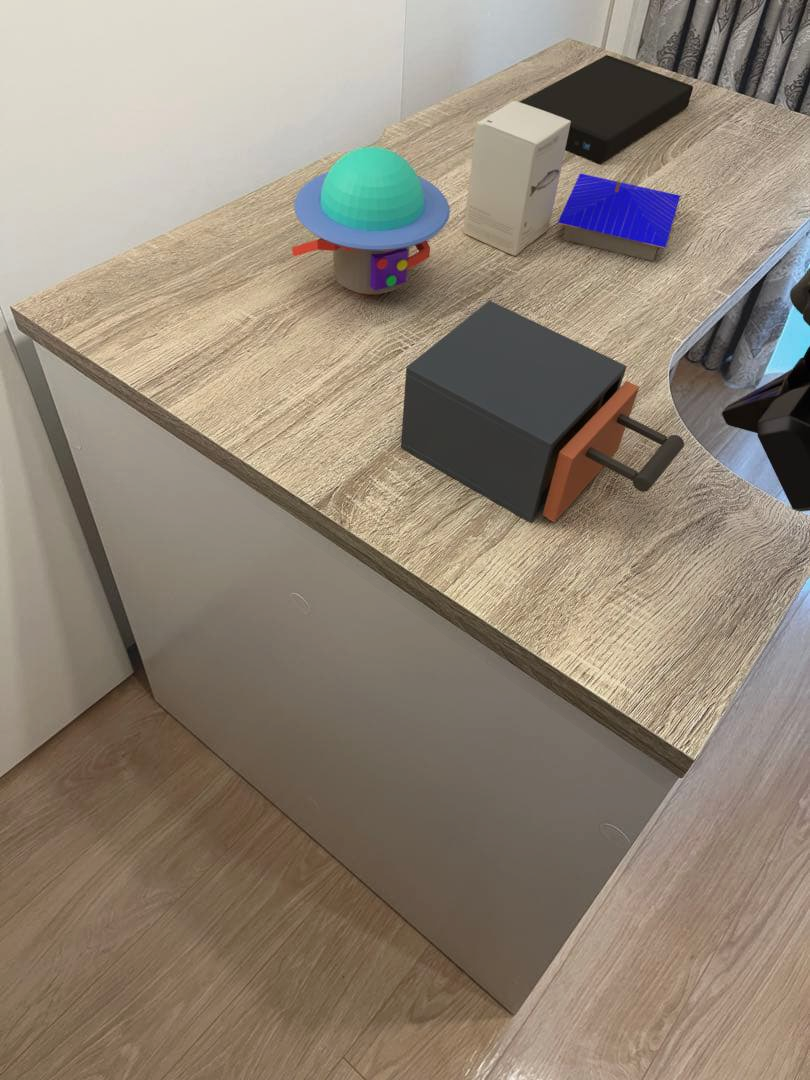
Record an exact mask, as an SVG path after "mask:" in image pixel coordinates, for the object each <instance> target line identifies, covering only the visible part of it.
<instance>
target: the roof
mask: <svg viewBox="0 0 810 1080" xmlns="http://www.w3.org/2000/svg"><path fill="white" fill-rule="evenodd" d="M680 198H681V195H680V194H675V193H671V192H665V191H661V190H656V189H652V188H649V187H644V186H639V185H635V184H630V183H626V182H621V181H616V180H612V179H608V178H604V177H598V176H594V175H590V174H585V173H579V175H578V177H577V179H576V182H575V183H574V185H573V188H572V190H571V192H570V194H569V196H568V198H567V201H566V203H565V205H564V208H563V210H562V212H561V214H560V217H559V219H558V220H557V224H558V225H563V226H564V231H563V236H562V240H563V241H567V242H571V243H575V244H580V245H584V246H588V247H592V248H596V249H601V250H604V251H608V252H609V251H610V252H613V253H618V254H622V255H626V256H631V257H633V258H634V257H635V258H639V259H643V260H646V261H647V260H648V261H652V262H653V261H654V259H655V256H656V253H657V250H658V248H662V249H666V247H667V243H668V240H669V236H670V233H671V230H672V226H673V223H674V220H675V216H676V213H677V209H678V205H679V202H680Z"/></svg>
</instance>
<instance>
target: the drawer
mask: <svg viewBox="0 0 810 1080" xmlns="http://www.w3.org/2000/svg"><path fill="white" fill-rule="evenodd" d="M639 390H640V386H639V385H636V384H634V383H632V382H630V381H627V380H626V381H625V382H623V384H621V386H620V388H619V389H618V390H617V392H616V393H615V394H614V395H613V396H612V397H611V398H610V399H609V400H608V401H607V402H606V403H605V404H604V405H603V406H602V407H601V405H602V401H603V398H604V395H605V394H604V395H603V396H602V397H601V398H600V399H599V400H598V401H597V402H596V403H595V404H594V405H593V406H592V407H591V408H590V409H589V410H588V411H587V412H586V413H585V415H584V416H583V417H582V418H581V419H580V420H579V421H578V422H577V423H576V424H575V425H574V426H573V427H572V428H571V429H570V430H569V431H568V432H567V433H566V434H565V435H564V436H563V437H562V438H561V440H560V441H559V442H558V443H557V444H556V445H555V446H554V448H553V452H552V456H551V460H550V464H549V468H548V471H547V475H546V479H545V483H544V487H543V491H544V490H545V489H546V488H547V487H548V486H549V485H550V484H551V485H550V489H549V493H548V496H547V500H546V504H545V507H544V509H543V510H542V516H543V517H544V518H547V519H548V520H550V521H551V522H553V523H555V522H556V521H557V520H558V519H559V518H560V517H561V516H562V515H563V514H564V513H565V511H566V510H567V509H569V507H570V506H571V505H572V504H573V502H575V500H576V499H577V498H578V497H579V495H580V494H581V493H582V492H583V491H584V490H585V489H586V487H587V486H588V485H589V484H590V483H591V482H592V481H593V480H594V478H595V477H597V475H598V474H599V473H600V472H601V470H602V469H603V468H604V467H605V468H607V469H609V470H611V471H612V472H614V473H616V474H618V475H619V476H622V477H623V478H626V479H627V480H630V481H631V482H632V486H633V487H634V488H635V490H637V491H638V492H641V493H646V492H649V490H650V489H651V488H653V486H654V485H655V483H656V482H657V481H658V480H659V478H660V477H661V476H662V475H663V474H664V472H665V471H666V470H667V468H668V467H669V466H670V464H672V462H673V461H674V460H675V459H676V457H677V456H678V455H679V454H680V452H681V451H682V450H683V449H684V447H685V441H684V438H682V437H681V436H680V435H678V434H670V435H669V436H667V435H665V434H663V433H661V432H659V431H657V430H656V429H653V428H651V427H649V426H647V425H645V424H643V423H641V422H639V421H637V420H635V419H633V418H632V417H630V416H631V414H632V413H631V412H632V410H633V407H634V404H635V401H636V398H637V396H638V393H639ZM626 429H629V430H631V431H633V432H635V433H637V434H639V435H640V436H643V437H644V438H647V439H649V440H651V441H652V442H654V443H656V444H658V445H660V446H659V447H658V449H657V450H656V451H655V452H654V454H652V456H651V457H650V458H649V459H648V460H647V462H646V463H645V464H644V465H643V467H641V469H640V470H639V471H637V470H636V469H635V468H632V467H630V466H628V465H626V464H624V463H623V462H620V461H619V460H617V459H615V458H613V457H614V456H615V455H616V453H617V452H618V451H619V448H620V446H621V442H622V439H623V437H624V433H625V431H626ZM543 491H542V492H543Z"/></svg>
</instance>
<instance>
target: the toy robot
mask: <svg viewBox="0 0 810 1080" xmlns="http://www.w3.org/2000/svg"><path fill="white" fill-rule="evenodd" d="M293 203H294V204H293V208H294V213H295V216H296V218H297V219H298V221H299V222H300V224H302V226H304V227H305V228H306V230H307V231H309V232H310V233H312V235H314V236H316V237H318V238H317V239H315V240H311V241H308V242H304V243H301V244H299V245H295V246H293V247H292V257H298V256H301V255H305V254H308V253H312V252H314V251H328V252H329V251H331V252H332V254H333V255H332V257H333V258H332V259H333V261H332V262H333V276H334V279H335V280H336V281H337V283H339V284H340V285H341V286H342V287H344V288H346V289H348V290H350V291H352V292H356V293H358V294H359V293H360V294H362V295H367V296H375V295H381V294H385V293H389V292H392V291H395V290H397V289H399V288H400V287H402V286H403V285H404V284H405V283H407V279H408V272H409V271H408V270H410V269H412V268H414V267H415V266H417V265H418V264H420V263H422V262H424V261H425V260H428V259H429V258H430V257H431V256H430V255H431V246H430V245H429V243H428V241H429V240H430V239H432V238H433V237H435V236H436V235H437V234H439V232H441V231H442V230H443V229H444V227H445V226H446V225H447V224H448V221H449V218H450V214H451V209H450V208H451V207H450V204H449V202H448V199H447V198H446V196H445V195H444V193H443V192H442V191H441V190H440V188H438V187H437V186H436V185H434V184H433V183H432V182H430V181H428V180H427V179H425V178H423V177H421V176H420V175H418V174H417V172H416V170H415V169H414V168H413V167H412V166H411V164H410V163H409V162H408V160H406V159H405V158H404V157H402V156H401V155H399V154H398V153H397V152H395V151H394V150H390V149H387V148H384V147H380V146H364V147H359V148H355V149H353V150H351V151H349V152H347V153H345V154H344V155H342V156H341V157H340V158H338V160H337V161H336V162H334V164H333V165H332V166H331V167H330V169H329V170H328V171H327V172H323V173H321V174H319V175H317V176H315V177H313V178H312V179H310V180H309V181H308V182H306V183H305V184H303V186H302V187H301V188H300V190H299V191H298V192H297V194H296V196H295V198H294V201H293ZM410 247H415V248H416V249H417V252H415V253H414V254H411V255H410Z"/></svg>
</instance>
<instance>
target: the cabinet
mask: <svg viewBox="0 0 810 1080" xmlns="http://www.w3.org/2000/svg"><path fill="white" fill-rule="evenodd" d="M626 371H627V365H625V364H623V363H622V362H619V361H618V360H615V359H613V358H611V357H609V356H607V355H605V354H602V353H601V352H598V351H596V350H594V349H592V348H591V347H588V346H586V345H584V344H582V343H580V342H578V341H576V340H573V339H571V338H569V337H567V336H565V335H563V334H561V333H559V332H557V331H555V330H553V329H550V328H549V327H546V326H545V325H542V324H540V323H538V322H536V321H534V320H531V319H529V318H528V317H525V316H523V315H521V314H519V313H517V312H515V311H513V310H511V309H509V308H506V307H505V306H502V305H500V304H498V303H496V302H494V301H492V300H488V301H486V302H485V303H484V304H483V305H482V306H481V307H479V308H478V309H476V310H475V311H474V312H473V313H472V314H471V315H469V316H468V317H467V318H466V319H465V320H463V321H462V322H461V323H459V324H458V325H457V326H455V327H454V328H453V329H452V330H450V331H449V332H448V333H447V334H446V335H444V336H443V337H442V338H441V339H439V340H438V341H437V342H436V343H434V344H433V345H432V346H431V347H429V348H428V349H427V350H426V351H424V352H423V353H422V354H421V355H419V356H418V357H417V358H415V360H413V361H412V362H411V363H409V364H408V365H407V366H406V367H405V381H404V382H405V383H404V394H403V395H404V397H403V408H402V409H403V410H402V423H401V436H400V440H401V441H400V449H402V450H404V451H405V452H407V453H408V454H409V455H412V456H414V457H415V458H417V459H419V460H421V461H423V462H424V463H426V464H427V465H430V466H431V467H433V468H435V469H436V470H438V471H439V472H441V473H443V474H446V475H447V476H448V477H450V478H451V479H453V480H455V481H457V482H459V483H461V484H462V485H463V486H465V487H467V488H469V489H471V490H472V491H474V492H476V493H478V494H479V495H481V496H483V497H484V498H487V499H488V500H490V501H492V502H493V503H495V504H497V505H499V506H501V507H502V508H504V509H506V510H507V511H509V512H511V513H513V514H515V515H516V516H518V517H519V518H521V519H523V520H525V521H526V522H528V523H530V524H531V523H533V522H534V520H536V519H537V517H538V516H539V515H540V514H541V513H543V511H544V507H545V504H546V500H547V496H548V493H549V489H550V485H551V484H550V485H549V486H548V487H547V488H546V489H545V490H544V491H543V487H544V483H545V479H546V475H547V471H548V468H549V464H550V460H551V456H552V452H553V448H554V446H555V445H556V444H557V443H558V442H559V441H560V440H561V438H562V437H563V436H564V435H565V434H566V433H567V432H568V431H569V430H570V429H571V428H572V427H573V426H574V425H575V424H576V423H577V422H578V421H579V420H580V419H581V418H582V417H583V416H584V415H585V413H586V412H587V411H588V410H589V409H590V408H591V407H592V406H593V405H594V404H595V403H596V402H597V401H598V400H599V399H600V398H601V397H602V396H603V395H604V394H605V395H604V398H603V401H602V405H601V407H602V406H603V405H604V404H605V403H606V402H607V401H608V400H609V399H610V398H611V397H612V396H613V395H614V394H615V393H616V392H617V390H618V389H619V388H620V387H621V386H622V382H623V379H624V376H625V373H626ZM542 491H543V492H542Z"/></svg>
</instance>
